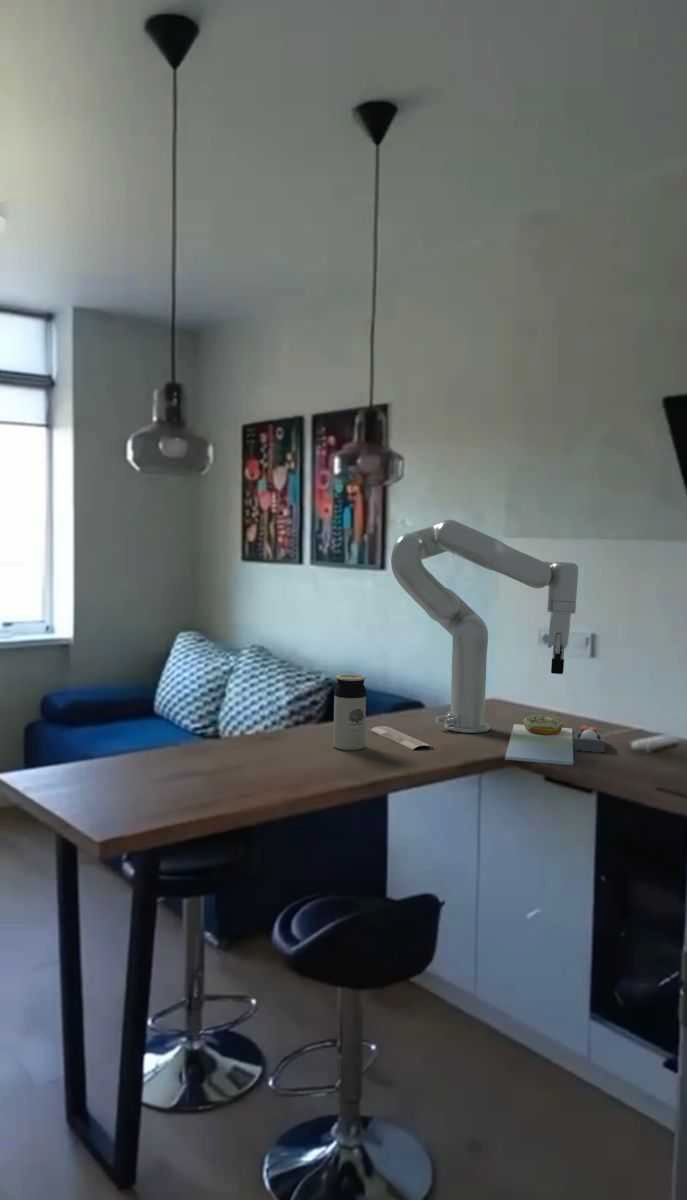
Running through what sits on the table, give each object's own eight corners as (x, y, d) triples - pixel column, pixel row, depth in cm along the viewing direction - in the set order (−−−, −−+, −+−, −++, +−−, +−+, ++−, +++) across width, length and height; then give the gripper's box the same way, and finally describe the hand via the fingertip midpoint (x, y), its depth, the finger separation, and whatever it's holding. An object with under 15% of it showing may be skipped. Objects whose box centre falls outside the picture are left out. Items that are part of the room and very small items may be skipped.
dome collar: (573, 743, 236) (573, 732, 236) (603, 746, 234) (603, 734, 234) (573, 750, 229) (573, 738, 228) (604, 752, 227) (604, 741, 227)
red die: (579, 740, 241) (580, 725, 240) (595, 741, 240) (595, 726, 239) (580, 743, 237) (580, 728, 236) (595, 744, 236) (596, 729, 235)
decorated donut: (523, 734, 242) (523, 720, 242) (523, 726, 253) (524, 712, 253) (562, 736, 240) (563, 722, 240) (561, 728, 251) (562, 715, 250)
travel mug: (329, 743, 229) (331, 674, 228) (360, 742, 231) (361, 673, 230) (337, 751, 221) (339, 679, 220) (368, 750, 223) (370, 678, 222)
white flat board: (513, 727, 255) (514, 724, 255) (571, 731, 251) (572, 728, 251) (505, 759, 217) (505, 756, 217) (573, 765, 213) (573, 761, 213)
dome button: (579, 743, 234) (579, 726, 234) (597, 744, 233) (598, 728, 233) (579, 747, 230) (580, 730, 229) (598, 748, 229) (598, 732, 228)
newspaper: (433, 751, 227) (433, 744, 227) (408, 753, 224) (409, 746, 224) (389, 731, 248) (390, 725, 248) (366, 733, 245) (367, 727, 245)
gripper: (549, 604, 254) (545, 668, 256) (545, 608, 240) (540, 675, 241) (577, 606, 252) (572, 671, 253) (574, 610, 238) (569, 678, 239)
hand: (557, 673), depth 247 cm, fingers closed
